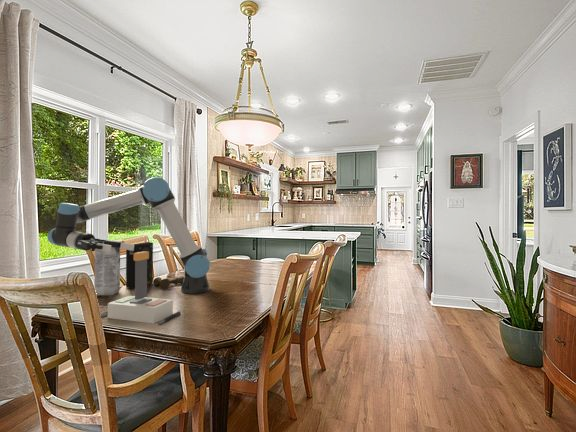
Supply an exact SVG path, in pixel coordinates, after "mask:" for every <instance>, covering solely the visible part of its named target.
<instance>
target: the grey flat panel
mask: <svg viewBox="0 0 576 432" xmlns="http://www.w3.org/2000/svg"><path fill="white" fill-rule="evenodd" d="M100 314H101V318H104V317H106V316H108V310H107V311H106V312H103V313H102V312H101V313H100ZM180 315H181V311H179V310H178V311H176V312H173V314H172V315H170V316H168V317H166V318H164V319H162V320H160V321H158V322H157V325H159V326H160V325H162V324H164V323H166V322H169V321H170V320H172V319H174V318H176V317H178V316H180Z"/></svg>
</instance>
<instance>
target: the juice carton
mask: <svg viewBox="0 0 576 432" xmlns="http://www.w3.org/2000/svg"><path fill="white" fill-rule="evenodd" d="M120 286H121V248H116V247H111V251H110V252H106V251H100V250H96V249H95V251H94V291H95V290H96V293H97V295H96V296H114V295H115V294H118V292H119V291H120Z"/></svg>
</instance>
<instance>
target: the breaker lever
mask: <svg viewBox="0 0 576 432" xmlns="http://www.w3.org/2000/svg"><path fill="white" fill-rule="evenodd" d="M147 259H149V252H146V251H143V252H137V253H134V261H135V288H134V296H135V299H136V300H139V299H142V298H144V297H148V285H147Z"/></svg>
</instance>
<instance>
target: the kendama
mask: <svg viewBox="0 0 576 432" xmlns="http://www.w3.org/2000/svg"><path fill="white" fill-rule="evenodd" d="M184 277H185V276H183V275H180V276H179V277H174V278H172V279H168V278H163V279H162V278H161V277H155V278H154V279H153V283H152V284H149V285H150V286H154V288H160V289H162V290H166V289H168V288H170V286H171V285H172V284H173V285H175V286H177V285H182V283H183V280H184Z"/></svg>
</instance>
